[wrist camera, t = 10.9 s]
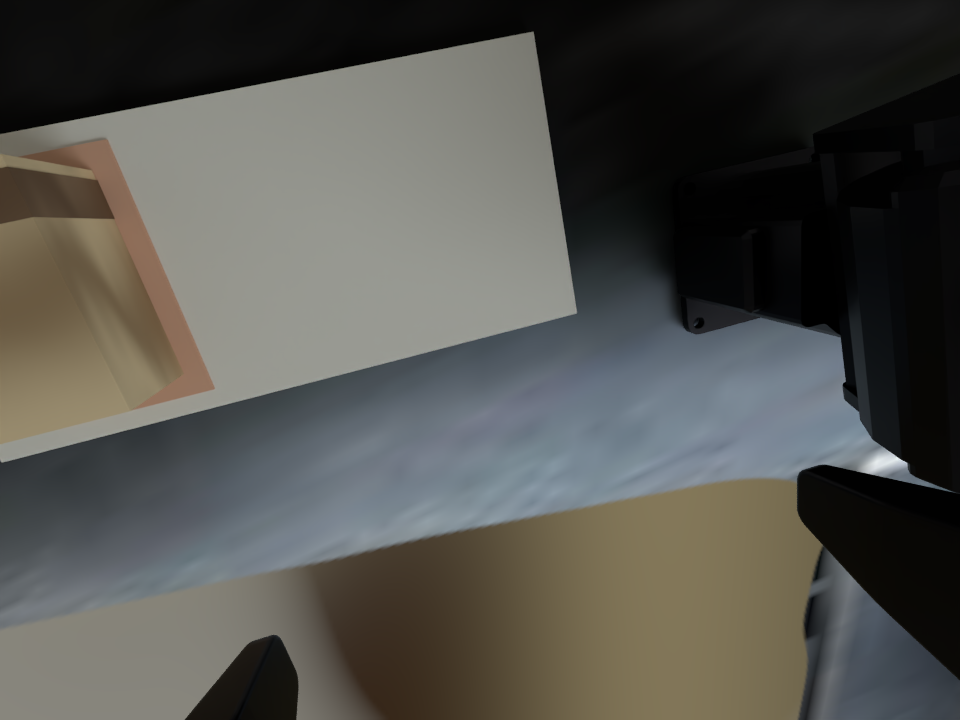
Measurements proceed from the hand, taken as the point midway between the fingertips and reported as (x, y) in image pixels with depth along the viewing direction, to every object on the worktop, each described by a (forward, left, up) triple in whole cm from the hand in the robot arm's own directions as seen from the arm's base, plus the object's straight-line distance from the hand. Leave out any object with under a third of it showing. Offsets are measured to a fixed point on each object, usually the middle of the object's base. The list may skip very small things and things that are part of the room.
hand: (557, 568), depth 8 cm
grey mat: (+6, -6, -12) cm, 15 cm away
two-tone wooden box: (+12, -6, -11) cm, 18 cm away
